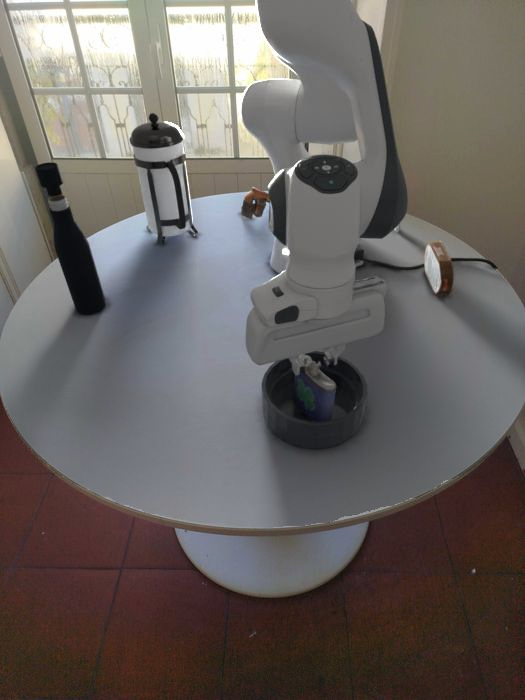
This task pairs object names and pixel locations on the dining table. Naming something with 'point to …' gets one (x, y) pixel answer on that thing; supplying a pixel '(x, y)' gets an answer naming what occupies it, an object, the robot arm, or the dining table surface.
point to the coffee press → (163, 178)
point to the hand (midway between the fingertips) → (314, 367)
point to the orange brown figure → (258, 206)
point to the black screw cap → (293, 424)
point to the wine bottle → (71, 246)
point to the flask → (314, 392)
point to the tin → (438, 268)
